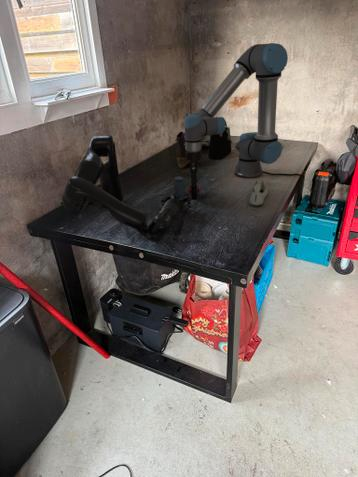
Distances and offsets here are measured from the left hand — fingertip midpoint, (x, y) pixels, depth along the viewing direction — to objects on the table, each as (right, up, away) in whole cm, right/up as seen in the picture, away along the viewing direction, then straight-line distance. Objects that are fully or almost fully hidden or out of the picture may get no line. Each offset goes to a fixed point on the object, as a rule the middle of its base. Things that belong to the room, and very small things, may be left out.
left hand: (181, 195), depth 152 cm
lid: (+6, +5, +11) cm, 14 cm away
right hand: (+6, +1, +13) cm, 15 cm away
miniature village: (+55, +47, +88) cm, 114 cm away
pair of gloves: (+21, +53, +101) cm, 116 cm away
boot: (+3, +29, +62) cm, 68 cm away
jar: (0, -7, +1) cm, 7 cm away
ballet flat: (+38, 0, +8) cm, 38 cm away
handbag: (+27, +37, +73) cm, 86 cm away
